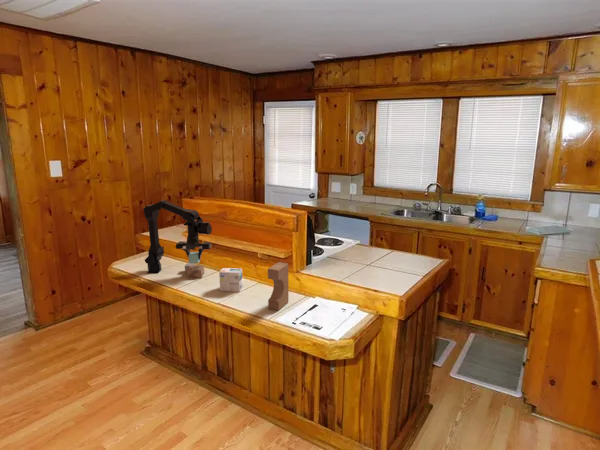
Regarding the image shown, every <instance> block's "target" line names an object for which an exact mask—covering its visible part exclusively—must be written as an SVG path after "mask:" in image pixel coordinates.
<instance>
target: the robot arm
mask: <svg viewBox="0 0 600 450" xmlns="http://www.w3.org/2000/svg"><path fill="white" fill-rule="evenodd" d="M162 209H163V210H166V211H168V212H170V213H172V214H175V215H178V216H179V217H181V218H182V219H183V221H185V222H184V223H183V225H182V226H186V227H187V228H186V229H187V238H186V241H178V242H177V243H176V244H175V249H176V250H182V251H184V252H185V253H186V256H187V257H188V259H189V254H190V253H191V251H193V250H195V249H196V248H199V249H197V252H199V260H200V261H201V258H202V254H203V251H205V250H209V249H211V248H212V242H211V241H203V242H202V243H200V235H207V236H208V235H211V234H212V231H213V227H212V224H210V221H204V220H203V219H202V217H201V216H200V214H199V212H198V211H197V210H196V209H189V208H184V207H181V206H180V205H177V204H175V203H172V202H170V201H168V200H165V199H162V200H160V201H158V202H156V203H152V204H149V205H146V206H144V207H143V210H142V211H143V215H144V218H145V219H146V220H147V224H148V234H149V243H150V244H149V248H148V253H147V256H146V258H145V259H144V262H145V264H147V271H146V273H147V274H159V273H160V271H162V270H163V269H162V263H161V261H160V260H162V257H163V256H164V253H165V250H164V249H165V248H164V246H162V245H161V244H160V236H159V227H158V225H159V224H158V219H159V218H158V217H159V216H160V211H161V210H162Z"/></svg>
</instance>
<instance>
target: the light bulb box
mask: <svg viewBox="0 0 600 450" xmlns="http://www.w3.org/2000/svg"><path fill="white" fill-rule="evenodd" d="M243 282H244V281H243V268H237V267H236V268H234V267H233V268H232V267H228V268H227V267H223V268H221V270H220V271H219V291H220V292H235V293H236V292H237V293H240V292H241V290H242V289H243V287H244V285H243Z"/></svg>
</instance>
